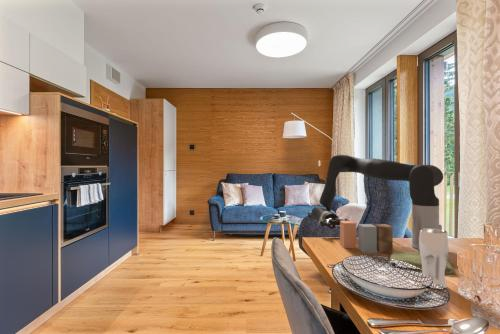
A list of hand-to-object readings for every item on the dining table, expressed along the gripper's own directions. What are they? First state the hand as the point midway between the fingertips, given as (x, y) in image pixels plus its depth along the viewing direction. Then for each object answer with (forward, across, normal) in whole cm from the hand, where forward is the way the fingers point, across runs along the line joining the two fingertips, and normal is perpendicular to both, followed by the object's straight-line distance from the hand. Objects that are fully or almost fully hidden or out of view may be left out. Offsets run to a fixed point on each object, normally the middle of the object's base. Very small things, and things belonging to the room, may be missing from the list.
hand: (339, 225), depth 126 cm
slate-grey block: (+18, +5, +6) cm, 19 cm away
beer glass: (+49, +10, +6) cm, 50 cm away
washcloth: (+33, +16, +7) cm, 37 cm away
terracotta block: (+11, 0, +6) cm, 12 cm away
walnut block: (+18, +11, +6) cm, 22 cm away
